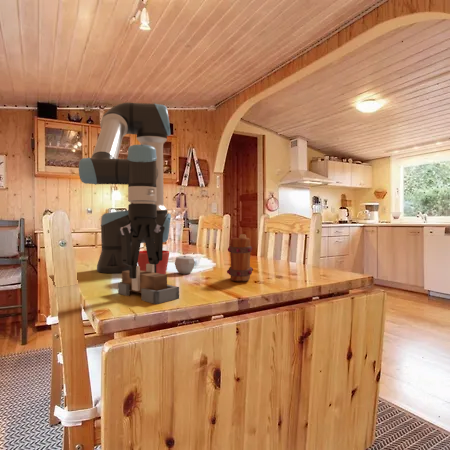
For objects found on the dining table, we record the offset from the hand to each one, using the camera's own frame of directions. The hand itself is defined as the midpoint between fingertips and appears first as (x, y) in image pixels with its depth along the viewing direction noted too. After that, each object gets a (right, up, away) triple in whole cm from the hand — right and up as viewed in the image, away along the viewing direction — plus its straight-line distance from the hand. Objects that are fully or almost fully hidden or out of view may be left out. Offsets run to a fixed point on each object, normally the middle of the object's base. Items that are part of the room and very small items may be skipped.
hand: (143, 288), depth 92 cm
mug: (+28, -1, +22) cm, 36 cm away
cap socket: (+6, -2, -5) cm, 8 cm away
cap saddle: (-3, -2, +3) cm, 5 cm away
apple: (+7, -1, +34) cm, 34 cm away
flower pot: (-2, -1, +20) cm, 20 cm away
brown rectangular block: (0, -1, 0) cm, 1 cm away
